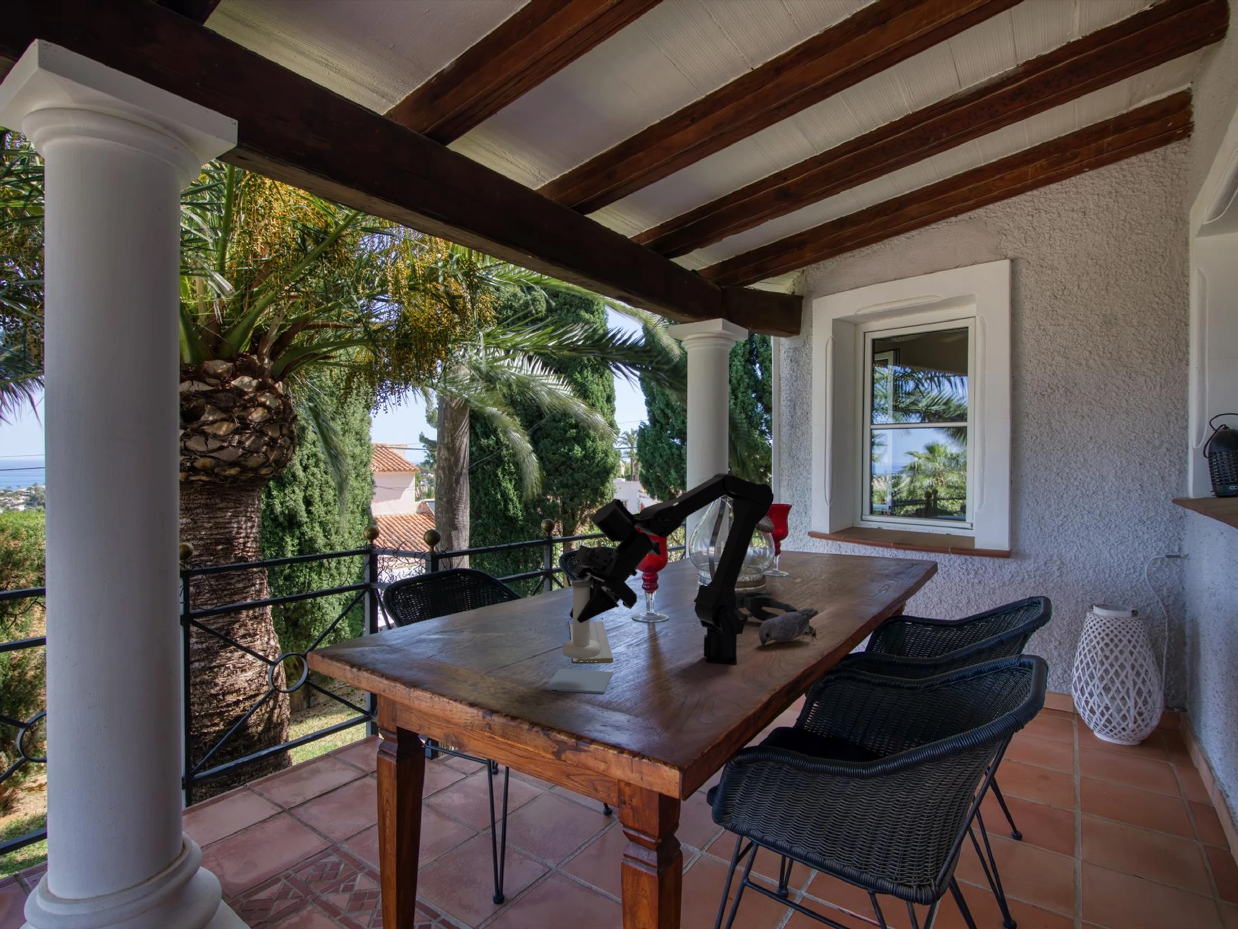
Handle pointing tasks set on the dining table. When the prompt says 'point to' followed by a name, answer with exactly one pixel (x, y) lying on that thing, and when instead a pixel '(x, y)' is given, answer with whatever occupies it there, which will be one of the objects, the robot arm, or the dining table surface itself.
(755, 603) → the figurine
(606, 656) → the baseboard
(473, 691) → the dining table surface
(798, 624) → the bird
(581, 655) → the paper towel holder
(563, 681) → the felt pad
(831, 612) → the dining table surface
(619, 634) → the dining table surface
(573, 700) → the dining table surface
